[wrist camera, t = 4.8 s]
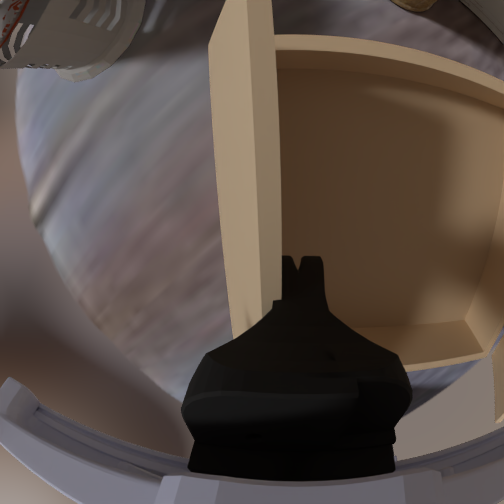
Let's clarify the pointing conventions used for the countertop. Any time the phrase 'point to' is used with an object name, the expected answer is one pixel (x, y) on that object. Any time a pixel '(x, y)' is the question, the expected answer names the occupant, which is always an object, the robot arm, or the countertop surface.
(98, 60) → the french press
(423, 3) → the sprinkles bottle
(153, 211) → the countertop surface
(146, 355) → the countertop surface
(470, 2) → the supplement box
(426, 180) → the carton
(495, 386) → the flap
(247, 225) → the flap
